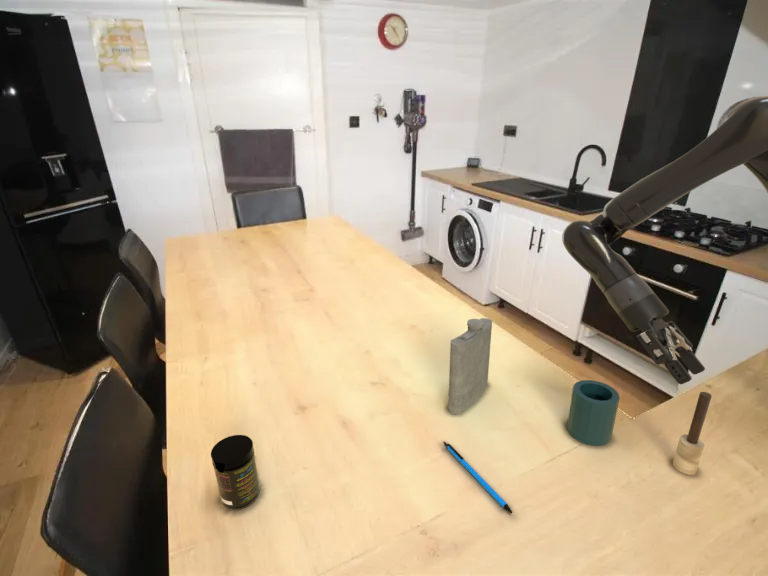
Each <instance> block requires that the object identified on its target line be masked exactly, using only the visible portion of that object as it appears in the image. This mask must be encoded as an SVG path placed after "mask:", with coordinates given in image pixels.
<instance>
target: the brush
mask: <svg viewBox="0 0 768 576" xmlns="http://www.w3.org/2000/svg"><path fill="white" fill-rule="evenodd" d="M712 397H713V396H712V394H711V393H709V392H707V391H700V392H699V395H698V399H697V401H696V406H695V410H694V413H693V415H692V420H691V423H690V426H689V430H688V434H681V435H680V436H679V439H678V443H677V445H676V450H675V452H674V453H675V454H674V456H673V460H672V466H673V468H674V469H676V470H677V471H678V472H680V473H682V474H685V475H689V476H691V475H695V474H697V471H698V468H699V464H700V462H701V458H702V455H703V451H704V448H705V443H704V441H702V440H701V439H700V436H701V433H702V429H703V426H704V424H705V420H706V416H707V413H708V410H709V407H710V404H711V400H712Z"/></svg>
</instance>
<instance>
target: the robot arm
mask: <svg viewBox="0 0 768 576" xmlns="http://www.w3.org/2000/svg"><path fill="white" fill-rule="evenodd" d="M741 165H743V166H745V168H746V169H747V170H748V171H750V172H751V173H752V175H753V176H754V177H755V178H756V179H757V180H758V181H759V183H760V184H761V185H762V186H763V188H764V189H765V191H766V193H767V194H768V95H761V96H759V95H758V96H752V97H747V98H745V99H742V100H739V101H737V102H734V103H733V104H732V105H730V106H729V107H728V108H727V109H726V110H725V111H724V112H723V113H722V114H721V116H720V117H719V119H718V122H717V124H716V128H715V130H714V131H713V132H712V133H710V134H709V135H708V136H706V138H705V139H703V140H702V141H701V142H700V143H699V144H697V145H696V146H695V147H693V148H692V149H690V150H689V151H688V152H686V153H684V154H683V155H681V156H680V157H678V158H677V159H675V160H674V161H672V162H670V163H668V164H666V165H664V166H663V167H661V168H659V169H657V170H655V171H654V172H652V173H650V174H649V175H647V176H645V177H643V178H641V179H640V180H638V181H636V182H635V183H633V184H631V186H629V187H627V188H626V189H625V190H622V192H620V193H619V194H618V195H616V196H615V197H613V198H612V199H611V200H609V201H608V202H606V204H605V205H604V206H603V211H601V212H600V213H599V214H597V216H595V217H594V218H592V219H591V220H589V221H588V220H575V221H572V222H570V223H569V224H567V225H566V227H564V229H563V232H562V235H561V242H562V244H563V247H564V249H565V250H566V251H567V253H568V254H569V255H570V256H571V258H573V260H574V261H576V263H577V264H578V265H580V267H582V269H584V270H585V271H586V273H588V274H589V275H590V276H591V278H592V279H593V281H594V282H595V284H596V285H597V286H598V288H599V289H600V291H601V292H602V293H603V295H604V297H606V300H607V302H608V303H609V304H610V306H611V307H612V309H613V310H614V311H615V312H616V314H617V315H618V316H619V318H620V319H621V321H622V322H623V323H624V324H625V326H626V327H627V329H628V330H629V331H630V332H631V333H634V332H635V333H637V332H638V331H640V330H641V333H639V334H637V335H636V339H637V340H638V341H639V343H640V344H641V345H642V347H643V348H644V350H645V351H646V352H647V354H648V355H649V357H650V358H651V359H652V361H653V362H654V363H655V364H656V365H657V366H659V365H661V366H662V367H665V369H666V370H667V371H668V372H669V373H670V374H671V376H672V377H673V379H674V380H675V381H676V383H677V384H679V385H683V384H686V383H689V382H690V381H691V380H693V378H692V377H693V376H691V374H692V375H698V374H700V373H703V372H704V371H705V370H706V368H705V366H704V364H703V363H702V362H701V360H699V358H698V357H697V356H696V355H695V354H694V352H693V347H694V346H693V343H692V342H691V341H690V339H688V338H687V336H686V335H685V334H684V333H683V331H682V330H681V329H680V328H679V327H678V326H677V324H676V323H675V321H672V320H670V321H668V322H666V321H665V320H664V318H665V317H666V316H667V315H669V313H670V310H669V308H668V307H667V306H666V305H665V304H664V303H663V302H662V300H661V299H660V298H659V296H658V295H657V294H656V292H654V290H653V289H652V288H651V287H650V285H649V284H648V283H647V282H646V281H645V280H644V279H643V278H642V277H641V276H640V275H639V274H638V273H637V272H636V271H635V269H634V268H633V267H632V266H631V264H630V263H629V262H628V260H626V259H625V258H624V257H623V256H622V255H621V254H619V253H617V252H616V251H615V250H613V249H612V248H611V245H612V244H614V243H615V242H616V241H618V240H619V239H620V238H621V237H622V236H623V235H624V234H625V233H626V232H628V231H629V230H631V229H633V228H635V227H637V226H638V225H640V224H642V223H643V222H645V221H646V220H649V218H651V217H652V216H654V215H656V214H657V213H659V212H660V211H662V210H664V209H665V208H667V207H668V206H670V205H672V204H673V203H674V202H676V201H678V200H680V199H682V198H683V197H684V196H686V195H687V194H689V193H691V192H692V191H694V190H696V189H697V188H700V187H701V186H702V185H704V184H706V183H708V182H710V181H711V180H714V179H715V178H717V177H719V176H721V175H723V174H725V173H727V172H729V171H731V170H734V169H735V168H738V167H740V166H741ZM678 357H679V359H680V360H681V361H680V360H679V359H678ZM681 362H682V363H683V364H684V365H685V367H686V368H687V369H686V368H685V367H684V366H683V364H682V363H681ZM688 371H690V373H691V374H690V373H689V372H688Z"/></svg>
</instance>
